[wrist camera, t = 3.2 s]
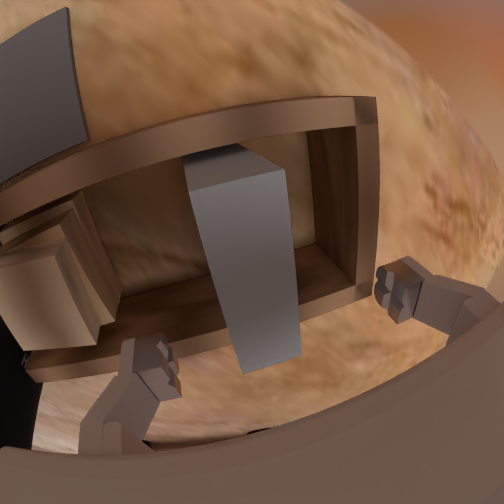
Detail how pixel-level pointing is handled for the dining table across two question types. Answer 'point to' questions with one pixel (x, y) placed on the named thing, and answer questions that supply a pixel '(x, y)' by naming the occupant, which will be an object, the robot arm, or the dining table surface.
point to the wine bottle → (16, 393)
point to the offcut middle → (83, 255)
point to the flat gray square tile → (39, 95)
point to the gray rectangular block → (248, 250)
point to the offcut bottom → (84, 218)
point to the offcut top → (46, 298)
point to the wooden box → (202, 289)
